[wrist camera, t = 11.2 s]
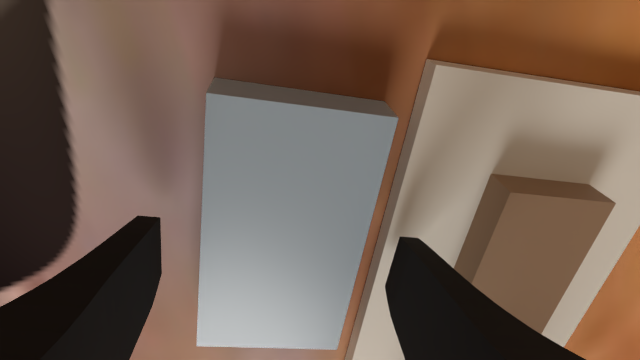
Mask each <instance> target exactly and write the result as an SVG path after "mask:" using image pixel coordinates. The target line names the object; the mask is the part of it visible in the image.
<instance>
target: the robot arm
mask: <svg viewBox="0 0 640 360" xmlns="http://www.w3.org/2000/svg"><path fill="white" fill-rule="evenodd" d="M161 274H162V271H161V231H160V218H159V217H147V216H137V217H136V218H134V219H133V220H132V221H130V222H129V223H128V224H126V225H125V226H124V227H122V228H121V229H120V230H118V231H117V232H116V233H115V234H113V235H112V236H111V237H109V238H108V239H107V240H106V241H104V242H103V243H102V244H100V245H99V246H98V247H96V248H95V249H93V250H92V251H91V252H89V253H88V254H87V255H85V256H84V257H83V258H81V259H80V260H78V261H77V262H75V263H74V264H72V265H71V266H69V267H68V268H66V269H65V270H63V271H62V272H60V273H59V274H57V275H56V276H54V277H53V278H51V279H49V280H48V281H46V282H44V283H43V284H41V285H39V286H38V287H36V288H34V289H33V290H31V291H29V292H27V293H25V294H24V295H22V296H20V297H18V298H16V299H15V300H13V301H11V302H9V303H7V304H5V305H3V306H1V307H0V360H129V359H130V357H131V354H132V352H133V350H134V347H135V345H136V343H137V340H138V338H139V336H140V333H141V331H142V329H143V326H144V324H145V322H146V319H147V317H148V315H149V312H150V310H151V307H152V305H153V302H154V298H155V295H156V292H157V288H158V285H159V281H160V277H161ZM385 291H386V296H387V302H388V307H389V312H390V316H391V319H392V322H393V325H394V328H395V331H396V334H397V337H398V340H399V343H400V346H401V349H402V352H403V355H404V358H405V360H586V359H584V358H582V357H580V356H578V355H576V354H574V353H573V352H571V351H569V350H567V349H565V348H564V347H562V346H560V345H559V344H557V343H555V342H553V341H552V340H550V339H548V338H547V337H545V336H543V335H542V334H540V333H538V332H537V331H535V330H534V329H532V328H531V327H529V326H527V325H526V324H524V323H523V322H522V321H520V320H519V319H517V318H516V317H514V316H513V315H511V314H510V313H508V312H507V311H506V310H504V309H503V308H501V307H500V306H499V305H497V304H496V303H495V302H493V301H492V300H491V299H490V298H488V297H487V296H486V295H485V294H483V293H482V292H481V291H480V290H478V289H477V288H476V287H475V286H473V285H472V284H471V283H470V282H469V281H467V280H466V279H465V278H464V277H463V276H462V275H460V274H459V273H458V272H457V271H456V270H455V269H454V268H452V267H451V266H450V265H449V264H448V263H447V262H446V261H445V260H444V259H442V258H441V257H440V256H439V255H438V254H437V253H436V252H435V251H433V250H432V249H431V248H430V247H429V246H428V245H427V244H425V243H424V242H423V241H422V240H420V239H419V238H413V237H399V241H398V244H397V247H396V251H395V254H394V257H393V261H392V264H391V267H390V270H389V274H388V277H387V280H386V284H385Z"/></svg>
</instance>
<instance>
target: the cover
mask: <svg viewBox="0 0 640 360" xmlns="http://www.w3.org/2000/svg"><path fill="white" fill-rule="evenodd" d="M397 122H398V117H397V115H396V114H395V113H394V112H393V111H392V110H391V108H390V107H389V106H388V105H387V104H386V102H385V101H378V100H371V99H364V98H357V97H350V96H343V95H336V94H329V93H322V92H314V91H307V90H300V89H293V88H286V87H279V86H272V85H265V84H257V83H250V82H243V81H236V80H229V79H222V78H215V77H214V79H213V81H212V83H211V85H210V87H209V89H208V90H207V92H206V112H205V139H204V165H203V191H202V217H201V244H200V270H199V296H198V322H197V346H210V347H250V348H290V349H330V350H337V347H338V344H339V340H340V336H341V332H342V328H343V325H344V321H345V317H346V313H347V310H348V306H349V302H350V298H351V295H352V291H353V287H354V283H355V280H356V276H357V272H358V268H359V265H360V261H361V257H362V253H363V250H364V246H365V242H366V238H367V235H368V231H369V227H370V223H371V220H372V216H373V212H374V208H375V205H376V201H377V197H378V193H379V190H380V186H381V182H382V178H383V175H384V171H385V167H386V163H387V159H388V156H389V152H390V148H391V144H392V141H393V137H394V133H395V129H396V126H397Z"/></svg>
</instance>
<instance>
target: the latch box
mask: <svg viewBox="0 0 640 360" xmlns="http://www.w3.org/2000/svg"><path fill="white" fill-rule="evenodd" d="M639 225H640V92H639V91H633V90H626V89H620V88H613V87H607V86H600V85H594V84H587V83H581V82H574V81H567V80H561V79H554V78H548V77H541V76H535V75H528V74H522V73H515V72H509V71H502V70H496V69H489V68H483V67H476V66H469V65H463V64H456V63H450V62H443V61H437V60H430V59H426V63H425V67H424V70H423V74H422V78H421V81H420V85H419V89H418V92H417V96H416V100H415V103H414V107H413V111H412V114H411V118H410V122H409V125H408V129H407V133H406V136H405V140H404V144H403V147H402V151H401V155H400V158H399V162H398V166H397V169H396V173H395V177H394V180H393V184H392V188H391V191H390V195H389V199H388V202H387V206H386V210H385V213H384V217H383V221H382V224H381V228H380V232H379V235H378V239H377V243H376V246H375V250H374V254H373V257H372V261H371V265H370V268H369V272H368V276H367V279H366V283H365V287H364V290H363V294H362V298H361V301H360V305H359V309H358V312H357V316H356V320H355V323H354V327H353V331H352V334H351V338H350V342H349V345H348V349H347V353H346V356H345V360H405V358H404V355H403V352H402V349H401V346H400V343H399V340H398V337H397V334H396V331H395V328H394V325H393V322H392V319H391V316H390V312H389V307H388V302H387V296H386V291H385V284H386V280H387V277H388V274H389V270H390V267H391V264H392V261H393V257H394V254H395V251H396V247H397V244H398V241H399V237H413V238H419V239H420V240H422V241H423V242H424V243H425V244H427V245H428V246H429V247H430V248H431V249H432V250H433V251H435V252H436V253H437V254H438V255H439V256H440V257H441V258H442V259H444V260H445V261H446V262H447V263H448V264H449V265H450V266H451V267H452V268H454V269H455V270H456V271H457V272H458V273H459V274H460V275H462V276H463V277H464V278H465V279H466V280H467V281H469V282H470V283H471V284H472V285H473V286H475V287H476V288H477V289H478V290H480V291H481V292H482V293H483V294H485V295H486V296H487V297H488V298H490V299H491V300H492V301H493V302H495V303H496V304H497V305H499V306H500V307H501V308H503V309H504V310H506V311H507V312H508V313H510V314H511V315H513V316H514V317H516V318H517V319H519V320H520V321H522V322H523V323H524V324H526V325H527V326H529V327H531V328H532V329H534V330H535V331H537V332H538V333H540V334H542V335H543V336H545V337H547V338H548V339H550V340H552V341H553V342H555V343H557V344H559V345H560V346H562V347H564V346H565V345H566V343H567V341H568V340H569V338H570V337H571V335H572V333H573V332H574V330H575V328H576V327H577V325H578V324H579V322H580V320H581V319H582V317H583V316H584V314H585V312H586V311H587V309H588V308H589V306H590V304H591V303H592V301H593V299H594V298H595V296H596V295H597V293H598V291H599V290H600V288H601V287H602V285H603V283H604V282H605V280H606V279H607V277H608V275H609V274H610V272H611V270H612V269H613V267H614V266H615V264H616V262H617V261H618V259H619V258H620V256H621V254H622V253H623V251H624V250H625V248H626V246H627V245H628V243H629V242H630V240H631V238H632V237H633V235H634V233H635V232H636V230H637V229H638V227H639Z"/></svg>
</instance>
